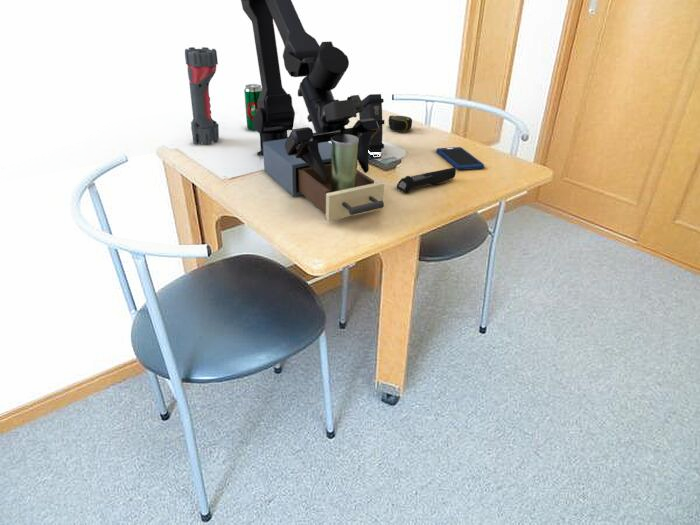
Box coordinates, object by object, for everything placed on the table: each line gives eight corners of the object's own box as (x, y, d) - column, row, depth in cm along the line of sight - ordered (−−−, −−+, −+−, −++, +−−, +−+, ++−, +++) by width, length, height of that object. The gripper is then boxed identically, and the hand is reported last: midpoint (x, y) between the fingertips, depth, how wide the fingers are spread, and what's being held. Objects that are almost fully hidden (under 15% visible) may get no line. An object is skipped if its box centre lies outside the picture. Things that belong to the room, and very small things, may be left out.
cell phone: (460, 149, 131) (460, 146, 131) (485, 168, 120) (485, 165, 120) (435, 150, 130) (435, 148, 129) (458, 170, 118) (458, 167, 118)
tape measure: (410, 127, 147) (411, 114, 145) (411, 134, 141) (413, 121, 139) (387, 126, 147) (388, 113, 145) (388, 133, 141) (389, 120, 139)
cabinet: (348, 185, 109) (349, 155, 105) (293, 197, 103) (292, 165, 99) (315, 162, 120) (315, 134, 116) (264, 171, 114) (262, 142, 110)
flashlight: (228, 136, 134) (219, 46, 121) (221, 146, 127) (210, 52, 115) (200, 135, 134) (188, 45, 121) (191, 144, 127) (178, 50, 115)
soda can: (256, 125, 143) (253, 82, 137) (268, 128, 141) (266, 85, 134) (243, 129, 140) (239, 85, 133) (256, 132, 137) (253, 89, 131)
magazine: (372, 157, 120) (368, 94, 118) (359, 161, 132) (354, 104, 130) (387, 156, 121) (383, 93, 118) (372, 160, 133) (368, 104, 131)
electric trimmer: (458, 182, 113) (460, 169, 111) (405, 194, 106) (406, 181, 104) (447, 177, 116) (449, 164, 114) (395, 188, 108) (396, 175, 107)
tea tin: (325, 200, 97) (326, 139, 90) (337, 191, 101) (339, 132, 94) (348, 206, 95) (350, 144, 88) (360, 197, 99) (363, 137, 92)
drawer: (394, 216, 95) (396, 191, 92) (339, 230, 89) (340, 204, 86) (346, 182, 108) (346, 159, 105) (295, 192, 102) (294, 168, 100)
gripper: (288, 84, 85) (318, 165, 83) (377, 76, 93) (406, 149, 91) (273, 117, 95) (299, 190, 93) (354, 107, 103) (380, 174, 101)
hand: (347, 175), depth 94 cm, fingers open, 9 cm apart
